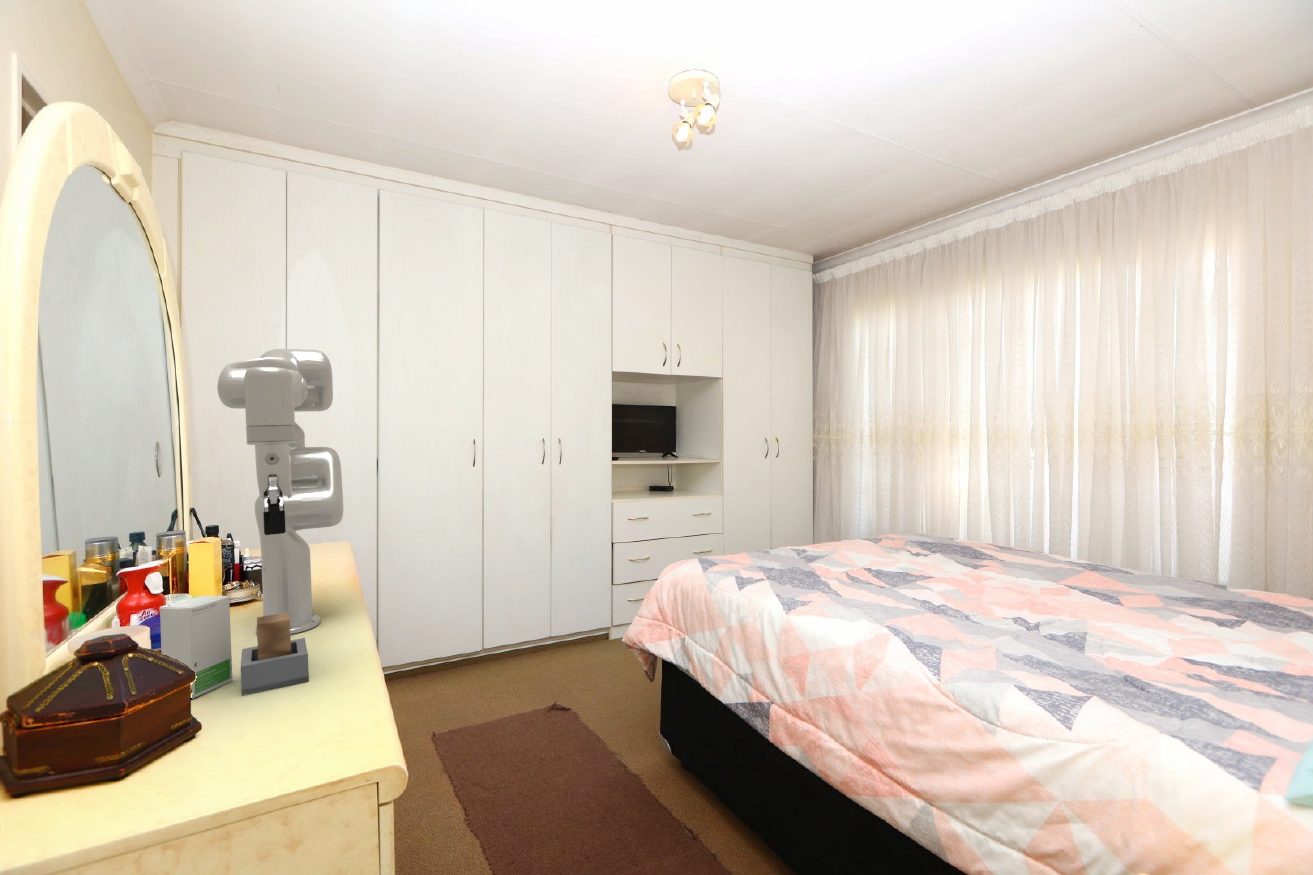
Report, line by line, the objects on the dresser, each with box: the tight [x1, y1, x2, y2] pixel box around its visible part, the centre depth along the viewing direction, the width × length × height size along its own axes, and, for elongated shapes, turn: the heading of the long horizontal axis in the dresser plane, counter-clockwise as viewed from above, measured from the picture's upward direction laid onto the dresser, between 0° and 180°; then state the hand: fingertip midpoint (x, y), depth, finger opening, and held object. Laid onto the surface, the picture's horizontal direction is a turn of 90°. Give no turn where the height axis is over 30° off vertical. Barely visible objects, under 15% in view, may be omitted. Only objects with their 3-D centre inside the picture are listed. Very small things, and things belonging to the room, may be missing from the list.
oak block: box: [256, 612, 292, 660], centre depth 112 cm, size 5×5×10 cm
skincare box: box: [159, 595, 233, 700], centre depth 108 cm, size 8×7×16 cm
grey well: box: [240, 637, 310, 697], centre depth 112 cm, size 10×10×5 cm
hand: (275, 529), depth 113 cm, fingers open, 9 cm apart
